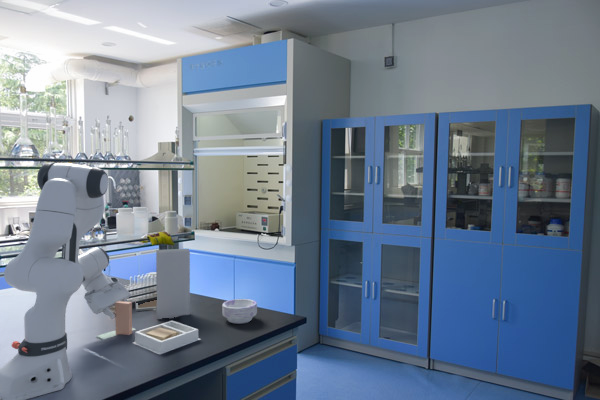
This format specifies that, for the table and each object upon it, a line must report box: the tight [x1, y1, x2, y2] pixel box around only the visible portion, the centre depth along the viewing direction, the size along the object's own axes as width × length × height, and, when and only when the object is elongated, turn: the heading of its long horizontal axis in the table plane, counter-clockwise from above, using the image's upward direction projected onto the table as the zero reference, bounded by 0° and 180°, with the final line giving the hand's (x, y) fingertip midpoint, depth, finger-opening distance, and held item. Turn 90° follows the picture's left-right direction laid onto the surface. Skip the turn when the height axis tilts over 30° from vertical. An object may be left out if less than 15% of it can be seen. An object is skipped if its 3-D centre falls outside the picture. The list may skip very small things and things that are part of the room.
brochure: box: [155, 248, 191, 320], centre depth 205 cm, size 14×6×30 cm, turn 108°
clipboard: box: [135, 300, 157, 312], centre depth 227 cm, size 19×2×30 cm
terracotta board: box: [114, 301, 133, 336], centre depth 181 cm, size 2×6×13 cm, turn 78°
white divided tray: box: [132, 320, 201, 356], centre depth 174 cm, size 19×17×5 cm
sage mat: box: [96, 327, 137, 340], centre depth 181 cm, size 14×14×1 cm
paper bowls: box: [221, 298, 258, 325], centre depth 202 cm, size 15×15×8 cm
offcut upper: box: [146, 328, 177, 341], centre depth 172 cm, size 7×9×2 cm
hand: (121, 313), depth 181 cm, fingers open, 8 cm apart
